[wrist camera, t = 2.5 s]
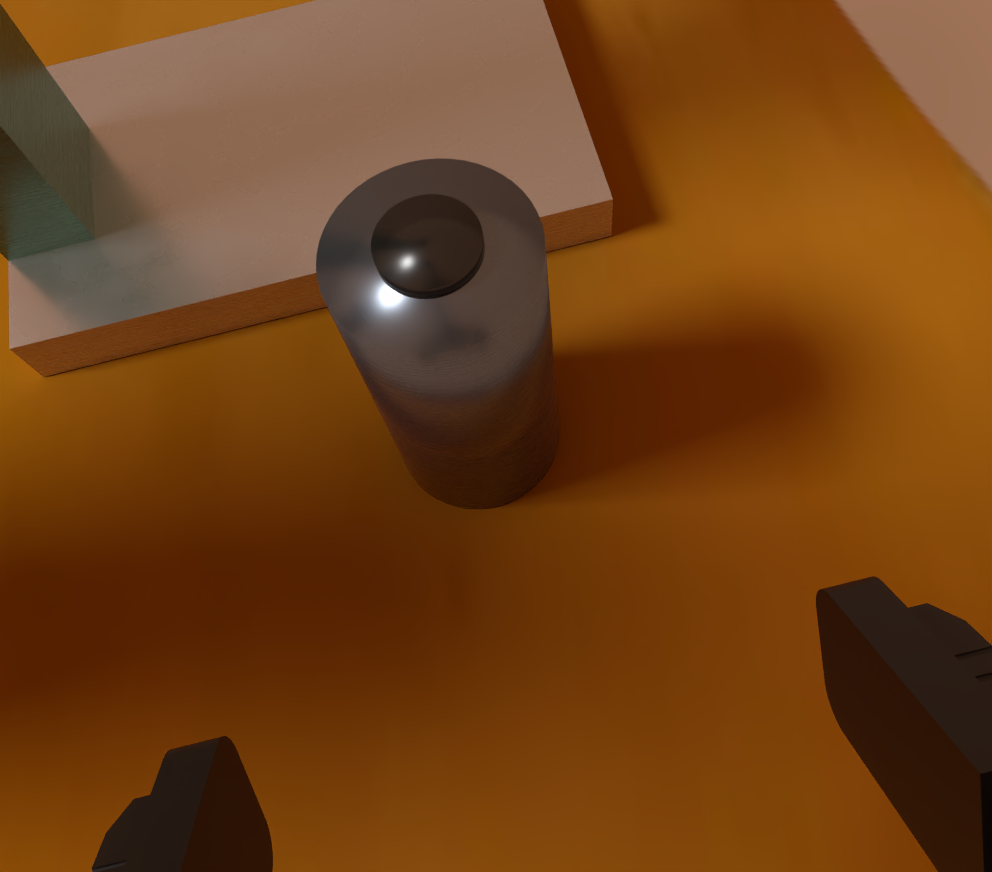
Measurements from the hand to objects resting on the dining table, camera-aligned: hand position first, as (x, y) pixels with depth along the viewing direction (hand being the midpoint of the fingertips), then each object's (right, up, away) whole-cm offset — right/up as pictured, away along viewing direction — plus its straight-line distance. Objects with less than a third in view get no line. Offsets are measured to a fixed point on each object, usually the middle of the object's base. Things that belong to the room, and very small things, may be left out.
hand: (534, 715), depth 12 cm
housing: (-1, +4, +17) cm, 17 cm away
